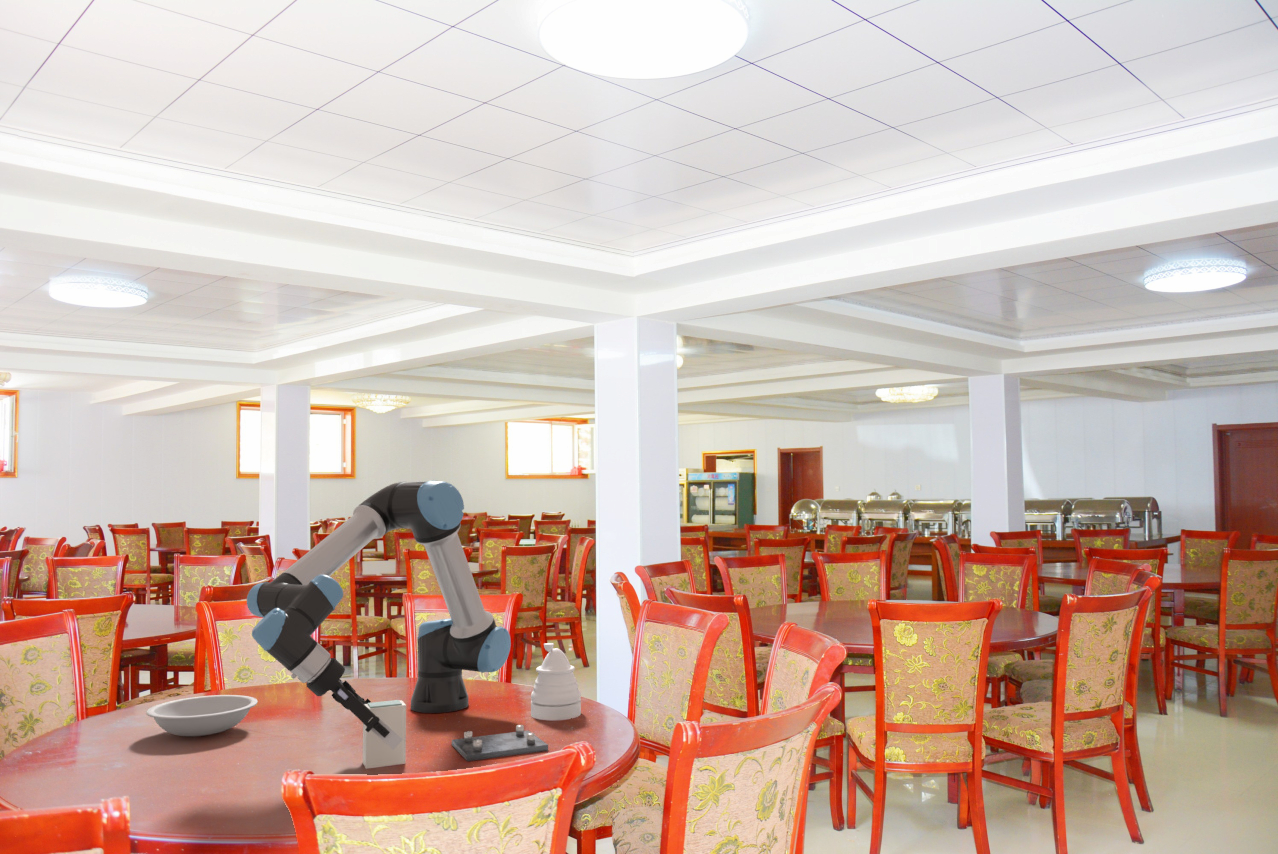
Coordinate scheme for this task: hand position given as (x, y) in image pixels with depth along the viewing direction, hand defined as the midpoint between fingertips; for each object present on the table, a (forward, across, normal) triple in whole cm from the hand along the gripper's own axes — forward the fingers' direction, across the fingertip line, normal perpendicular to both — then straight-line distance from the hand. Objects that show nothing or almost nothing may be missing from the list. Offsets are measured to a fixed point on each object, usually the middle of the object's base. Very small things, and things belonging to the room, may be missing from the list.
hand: (392, 736), depth 188 cm
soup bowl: (-22, -45, -30) cm, 58 cm away
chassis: (+20, 0, +13) cm, 24 cm away
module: (+3, 0, -5) cm, 6 cm away
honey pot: (+36, -24, +28) cm, 52 cm away
